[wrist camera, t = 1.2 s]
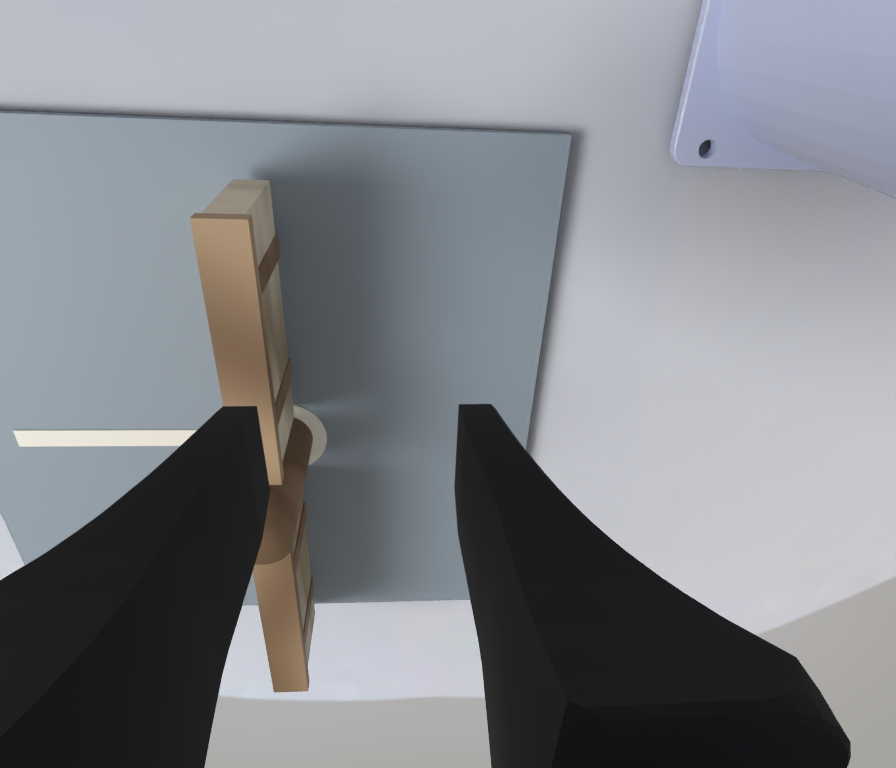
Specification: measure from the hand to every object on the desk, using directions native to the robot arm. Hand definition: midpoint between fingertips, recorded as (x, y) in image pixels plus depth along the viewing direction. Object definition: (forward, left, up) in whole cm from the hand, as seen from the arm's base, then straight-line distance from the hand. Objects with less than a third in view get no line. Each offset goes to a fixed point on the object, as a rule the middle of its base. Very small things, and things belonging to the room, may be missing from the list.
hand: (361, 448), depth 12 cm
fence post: (+3, +11, -9) cm, 15 cm away
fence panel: (+3, +1, -9) cm, 9 cm away
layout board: (+4, +6, -9) cm, 12 cm away
